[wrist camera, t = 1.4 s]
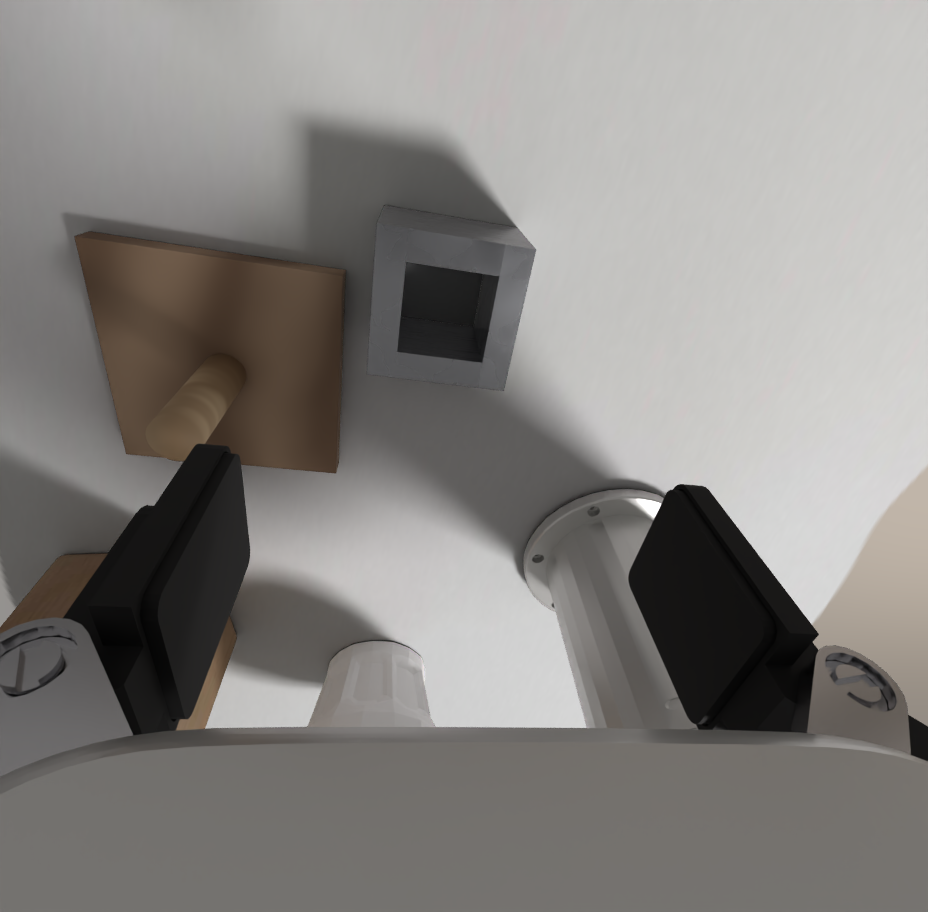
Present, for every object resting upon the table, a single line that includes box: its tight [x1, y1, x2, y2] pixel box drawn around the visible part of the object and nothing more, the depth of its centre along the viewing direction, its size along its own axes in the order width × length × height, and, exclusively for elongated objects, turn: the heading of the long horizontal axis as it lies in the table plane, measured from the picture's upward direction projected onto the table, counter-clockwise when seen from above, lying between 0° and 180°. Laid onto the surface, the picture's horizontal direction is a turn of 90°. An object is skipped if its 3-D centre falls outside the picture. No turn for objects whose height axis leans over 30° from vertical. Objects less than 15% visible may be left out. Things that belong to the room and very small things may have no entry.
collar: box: [367, 205, 536, 391], centre depth 25 cm, size 7×7×5 cm
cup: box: [307, 641, 435, 727], centre depth 40 cm, size 12×12×11 cm
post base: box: [74, 231, 346, 473], centre depth 25 cm, size 12×12×8 cm
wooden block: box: [0, 553, 237, 731], centre depth 30 cm, size 10×10×20 cm
